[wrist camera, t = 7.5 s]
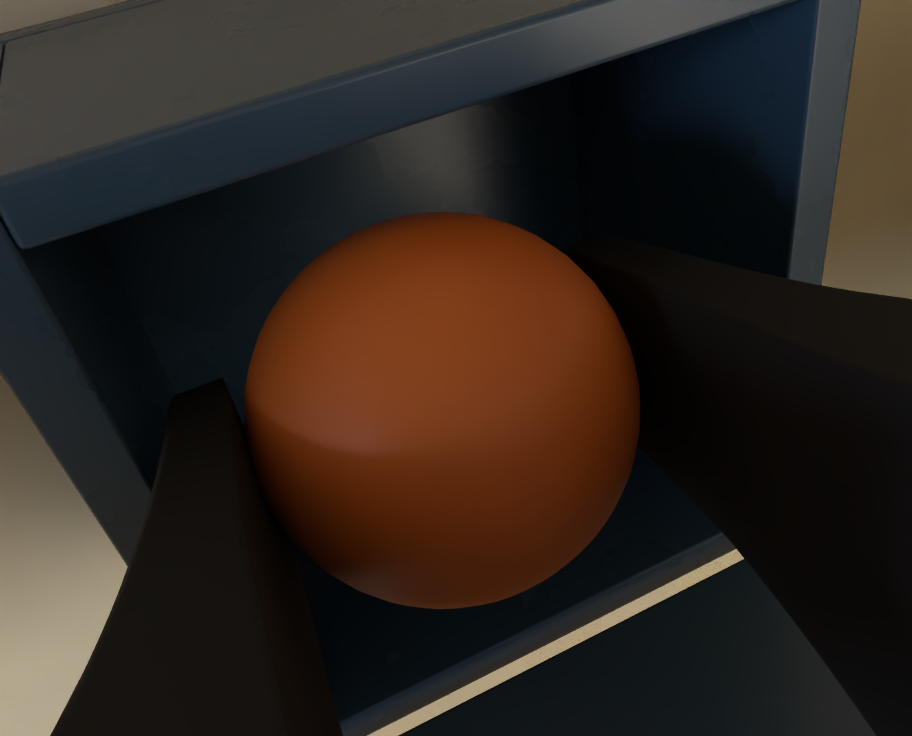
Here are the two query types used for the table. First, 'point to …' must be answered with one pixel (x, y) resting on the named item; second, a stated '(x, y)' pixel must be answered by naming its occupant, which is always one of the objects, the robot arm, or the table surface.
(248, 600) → the robot arm
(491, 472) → the orange ball
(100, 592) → the table surface
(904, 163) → the table surface
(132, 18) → the bin
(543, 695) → the bin lid
